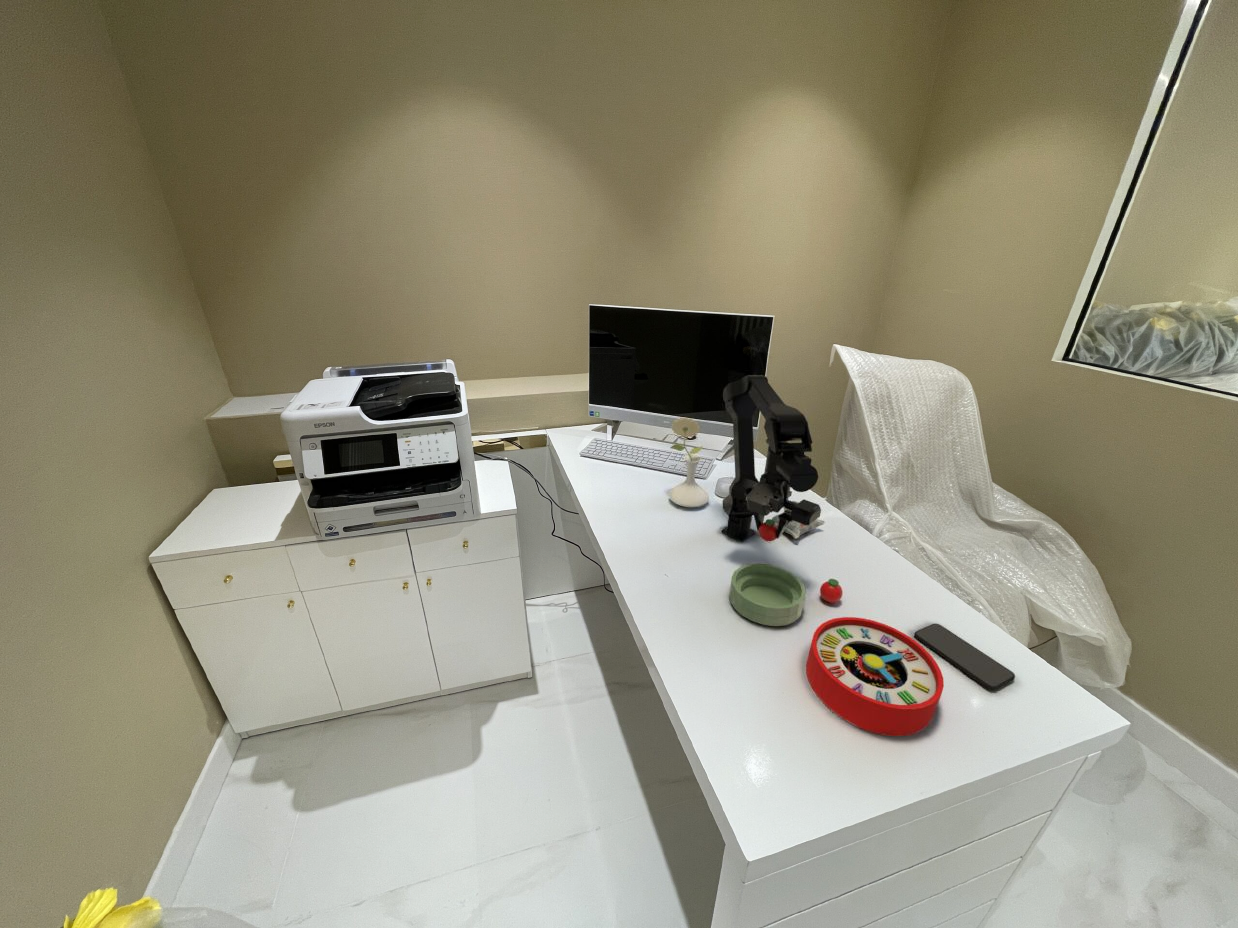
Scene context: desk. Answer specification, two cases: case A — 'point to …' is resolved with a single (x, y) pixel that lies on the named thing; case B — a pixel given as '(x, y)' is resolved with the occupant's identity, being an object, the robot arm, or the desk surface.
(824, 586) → the red toy tomato
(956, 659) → the smartphone
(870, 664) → the toy clock
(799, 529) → the packaged food
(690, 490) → the flower in vase
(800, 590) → the bowl
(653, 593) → the desk surface
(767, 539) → the red round piece
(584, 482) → the desk surface
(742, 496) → the robot arm
